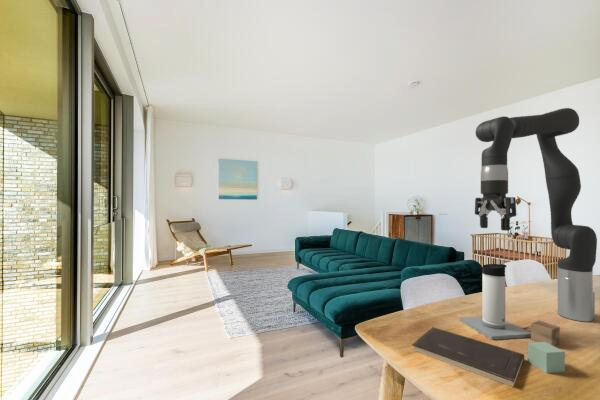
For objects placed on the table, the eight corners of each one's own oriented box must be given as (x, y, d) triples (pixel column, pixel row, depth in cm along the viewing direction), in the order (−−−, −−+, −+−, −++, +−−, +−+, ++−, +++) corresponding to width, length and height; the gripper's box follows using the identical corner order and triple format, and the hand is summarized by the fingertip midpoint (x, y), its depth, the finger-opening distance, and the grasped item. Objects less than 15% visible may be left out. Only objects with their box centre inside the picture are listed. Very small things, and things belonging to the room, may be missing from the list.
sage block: (545, 360, 75) (545, 341, 75) (564, 372, 70) (564, 351, 70) (527, 362, 75) (527, 342, 75) (546, 373, 70) (546, 352, 70)
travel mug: (510, 330, 91) (510, 266, 91) (487, 328, 92) (487, 265, 92) (500, 322, 97) (500, 262, 97) (479, 320, 98) (479, 261, 98)
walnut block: (539, 336, 89) (539, 320, 89) (559, 343, 84) (559, 326, 84) (530, 340, 87) (530, 323, 87) (551, 347, 82) (551, 330, 82)
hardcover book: (514, 390, 64) (514, 380, 64) (412, 352, 80) (412, 344, 80) (524, 362, 75) (524, 353, 75) (433, 333, 92) (433, 326, 92)
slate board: (495, 318, 102) (495, 315, 102) (532, 337, 88) (532, 333, 88) (459, 320, 100) (459, 317, 100) (491, 339, 86) (491, 336, 86)
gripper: (523, 178, 88) (523, 231, 88) (487, 181, 102) (487, 227, 102) (501, 177, 87) (501, 231, 87) (468, 181, 101) (468, 227, 101)
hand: (494, 229), depth 94 cm, fingers open, 8 cm apart
